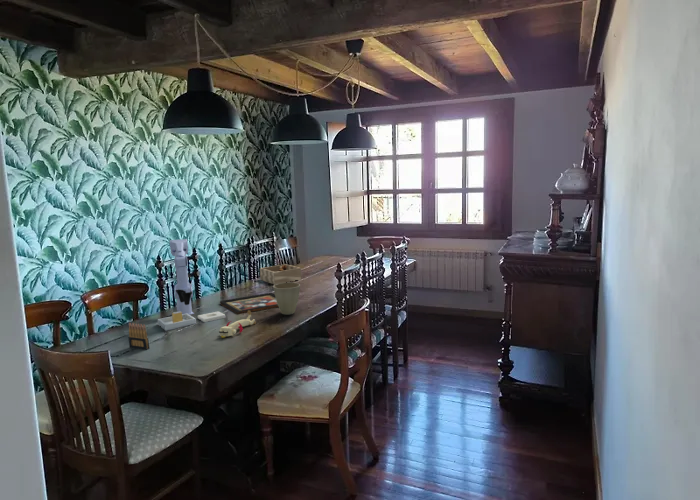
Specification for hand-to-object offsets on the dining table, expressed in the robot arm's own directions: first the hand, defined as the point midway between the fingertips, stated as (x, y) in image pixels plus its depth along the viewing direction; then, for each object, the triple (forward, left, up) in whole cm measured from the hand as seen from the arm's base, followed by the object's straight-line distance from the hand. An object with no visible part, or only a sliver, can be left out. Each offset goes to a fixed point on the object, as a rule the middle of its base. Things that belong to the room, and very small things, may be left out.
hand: (184, 303), depth 261 cm
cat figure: (+36, +14, -10) cm, 40 cm away
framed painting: (-5, +44, -11) cm, 46 cm away
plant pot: (+26, +49, -10) cm, 56 cm away
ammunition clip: (+28, -31, -10) cm, 43 cm away
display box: (-56, +89, -10) cm, 106 cm away
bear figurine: (-53, +88, -10) cm, 103 cm away
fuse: (+3, -6, -9) cm, 11 cm away
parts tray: (+3, -6, -10) cm, 12 cm away
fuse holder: (+6, +12, -10) cm, 17 cm away
